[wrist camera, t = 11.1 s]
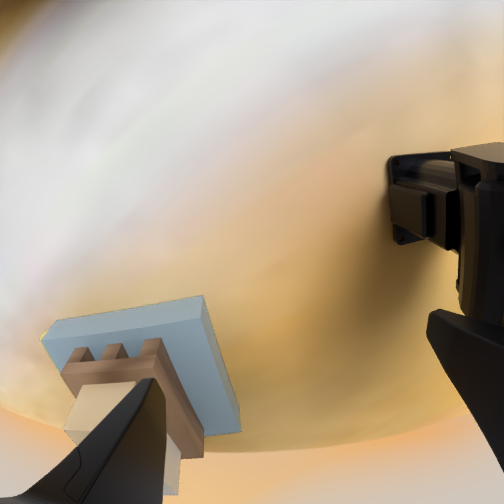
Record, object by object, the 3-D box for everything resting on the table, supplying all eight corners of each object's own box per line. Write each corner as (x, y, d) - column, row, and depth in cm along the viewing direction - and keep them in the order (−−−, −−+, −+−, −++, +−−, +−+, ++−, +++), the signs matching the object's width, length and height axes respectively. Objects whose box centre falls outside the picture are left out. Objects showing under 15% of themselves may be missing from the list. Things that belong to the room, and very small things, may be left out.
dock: (203, 295, 21) (200, 317, 18) (239, 407, 25) (241, 431, 22) (53, 320, 20) (38, 340, 18) (111, 417, 24) (105, 439, 22)
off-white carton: (160, 422, 17) (152, 469, 13) (180, 452, 18) (178, 495, 15) (110, 423, 17) (97, 466, 13) (134, 453, 18) (127, 493, 14)
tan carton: (135, 381, 16) (120, 431, 12) (160, 422, 17) (152, 469, 13) (82, 384, 16) (62, 429, 12) (110, 423, 17) (97, 466, 13)
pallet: (161, 337, 18) (152, 367, 15) (204, 429, 22) (203, 457, 19) (75, 347, 18) (59, 373, 15) (130, 433, 21) (124, 459, 19)
